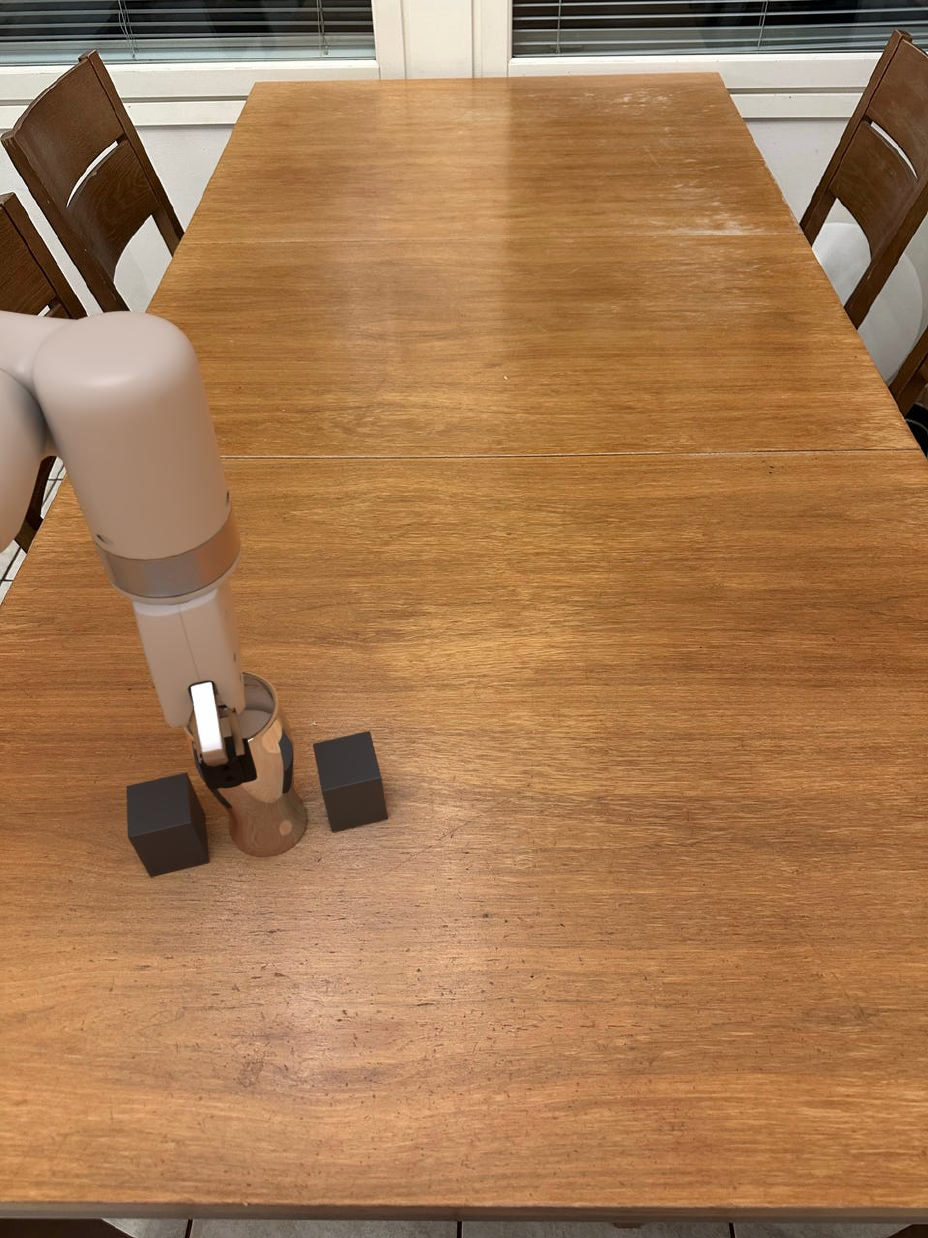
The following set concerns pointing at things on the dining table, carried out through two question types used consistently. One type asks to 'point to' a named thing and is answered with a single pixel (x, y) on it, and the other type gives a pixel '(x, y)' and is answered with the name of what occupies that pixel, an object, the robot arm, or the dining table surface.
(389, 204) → the dining table surface
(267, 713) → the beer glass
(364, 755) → the block right
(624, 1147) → the dining table surface
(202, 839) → the block left
